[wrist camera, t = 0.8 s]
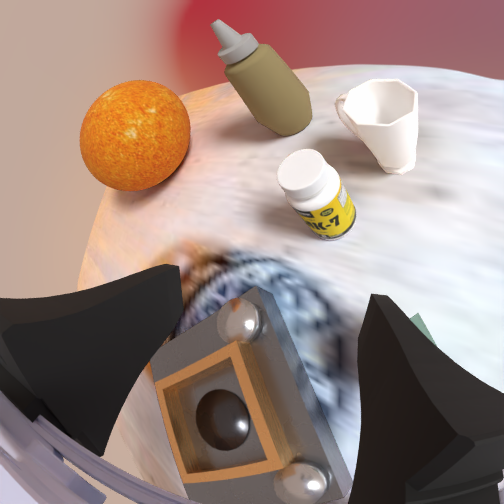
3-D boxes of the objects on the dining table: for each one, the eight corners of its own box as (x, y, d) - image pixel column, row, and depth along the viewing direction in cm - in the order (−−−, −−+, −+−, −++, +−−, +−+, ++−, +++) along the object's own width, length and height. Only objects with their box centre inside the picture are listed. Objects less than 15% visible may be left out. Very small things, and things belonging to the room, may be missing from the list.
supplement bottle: (309, 242, 27) (265, 197, 21) (315, 200, 28) (276, 150, 22) (356, 241, 24) (325, 191, 18) (359, 197, 26) (330, 140, 19)
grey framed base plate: (353, 483, 15) (335, 508, 11) (214, 507, 20) (181, 519, 16) (272, 294, 27) (243, 279, 23) (167, 357, 32) (135, 351, 28)
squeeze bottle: (314, 96, 35) (245, -2, 22) (326, 128, 31) (246, 10, 18) (267, 117, 39) (191, 32, 25) (270, 151, 35) (179, 53, 22)
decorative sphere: (145, 231, 45) (48, 176, 30) (136, 177, 58) (68, 132, 43) (229, 147, 41) (136, 61, 26) (197, 113, 54) (132, 55, 39)
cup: (406, 198, 23) (393, 138, 17) (333, 157, 29) (303, 106, 23) (439, 150, 22) (432, 89, 16) (367, 119, 28) (344, 66, 22)
